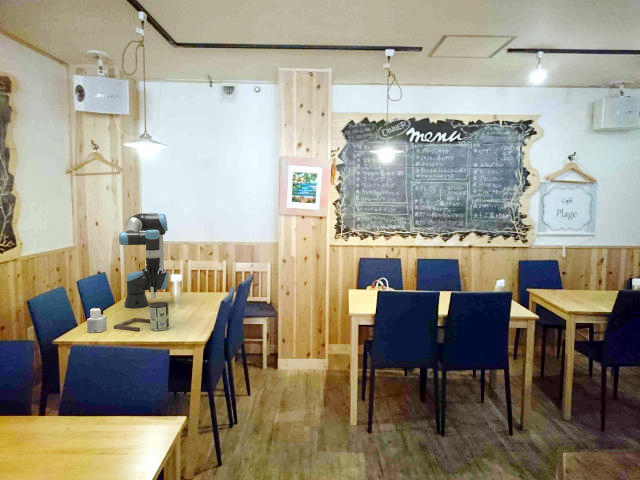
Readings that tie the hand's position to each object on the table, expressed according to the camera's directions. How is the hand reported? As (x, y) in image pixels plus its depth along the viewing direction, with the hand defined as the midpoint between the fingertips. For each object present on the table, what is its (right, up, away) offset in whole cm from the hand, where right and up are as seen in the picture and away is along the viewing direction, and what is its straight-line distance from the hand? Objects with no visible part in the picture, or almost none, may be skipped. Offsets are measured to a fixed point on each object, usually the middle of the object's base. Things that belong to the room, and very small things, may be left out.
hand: (153, 297), depth 260 cm
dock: (-11, -17, +5) cm, 21 cm away
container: (-29, -18, -6) cm, 35 cm away
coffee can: (+3, -18, +1) cm, 18 cm away
